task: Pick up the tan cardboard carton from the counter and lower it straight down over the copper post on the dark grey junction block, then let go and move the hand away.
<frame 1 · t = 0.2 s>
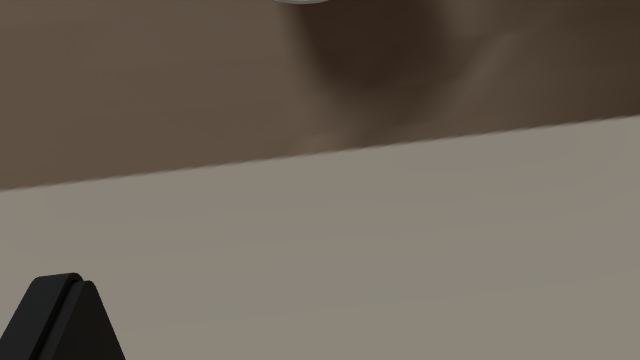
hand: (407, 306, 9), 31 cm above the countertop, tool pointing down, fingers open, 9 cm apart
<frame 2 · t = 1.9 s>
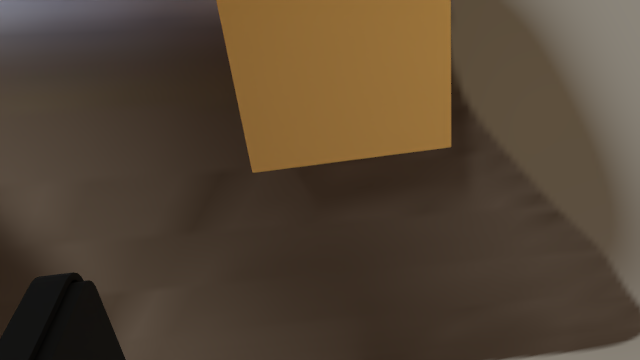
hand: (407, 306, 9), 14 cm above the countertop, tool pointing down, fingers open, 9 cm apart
tan cardboard carton: (329, 11, 21), on the countertop
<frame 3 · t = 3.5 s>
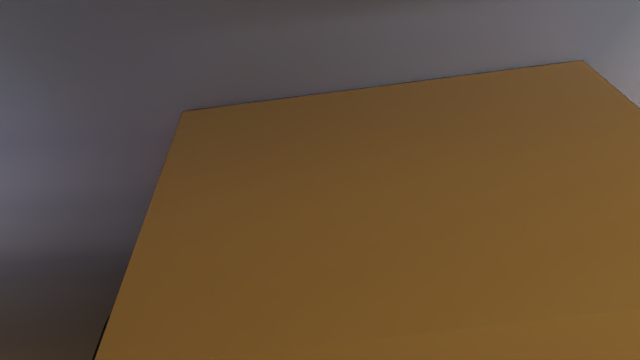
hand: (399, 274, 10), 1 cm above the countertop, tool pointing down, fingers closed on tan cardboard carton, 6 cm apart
tan cardboard carton: (392, 245, 11), on the countertop, touching gripper
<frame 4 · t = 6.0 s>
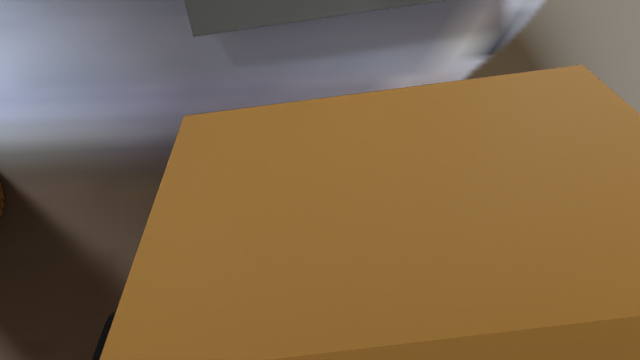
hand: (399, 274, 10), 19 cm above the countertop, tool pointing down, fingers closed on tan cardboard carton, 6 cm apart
tan cardboard carton: (393, 248, 11), point 18 cm above the countertop, touching gripper
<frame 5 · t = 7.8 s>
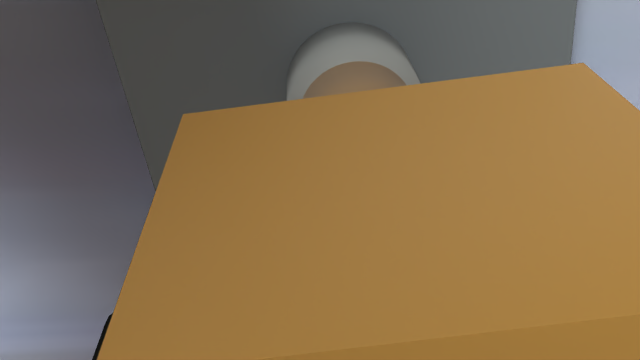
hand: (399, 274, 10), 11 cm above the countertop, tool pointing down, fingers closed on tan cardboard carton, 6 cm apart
junction block: (340, 47, 19), on the countertop
tan cardboard carton: (392, 247, 11), point 10 cm above the countertop, touching gripper
when the fingers open (8 cm above the countertop, at t = 8.8 s): tan cardboard carton drops 1 cm, resting on junction block.
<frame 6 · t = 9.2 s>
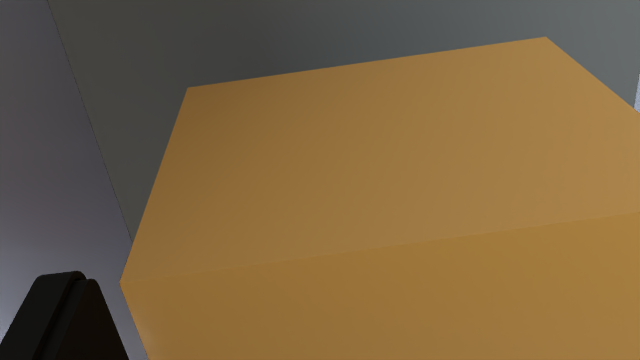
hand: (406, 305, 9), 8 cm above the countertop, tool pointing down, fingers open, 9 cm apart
junction block: (356, 92, 16), on the countertop
tan cardboard carton: (379, 211, 12), point 6 cm above the countertop, touching junction block
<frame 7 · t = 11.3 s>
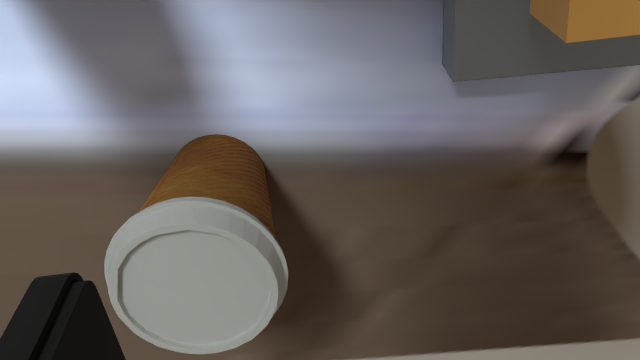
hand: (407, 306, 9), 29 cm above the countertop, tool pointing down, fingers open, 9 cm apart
disposable coffee cup: (219, 174, 41), on the countertop
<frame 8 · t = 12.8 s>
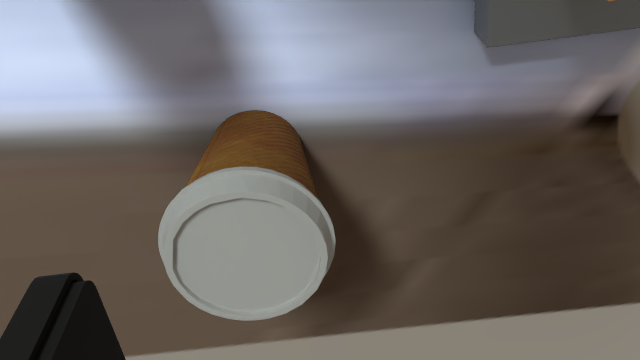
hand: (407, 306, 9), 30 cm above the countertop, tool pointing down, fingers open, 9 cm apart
disposable coffee cup: (256, 149, 42), on the countertop
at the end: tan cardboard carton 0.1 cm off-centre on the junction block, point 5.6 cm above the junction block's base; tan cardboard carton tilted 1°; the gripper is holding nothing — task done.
